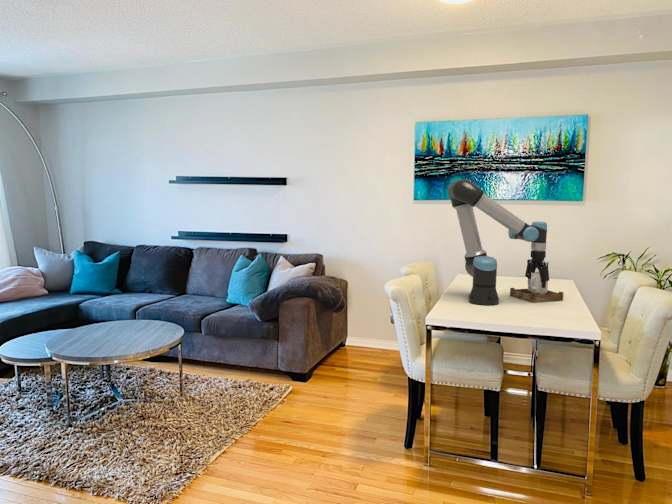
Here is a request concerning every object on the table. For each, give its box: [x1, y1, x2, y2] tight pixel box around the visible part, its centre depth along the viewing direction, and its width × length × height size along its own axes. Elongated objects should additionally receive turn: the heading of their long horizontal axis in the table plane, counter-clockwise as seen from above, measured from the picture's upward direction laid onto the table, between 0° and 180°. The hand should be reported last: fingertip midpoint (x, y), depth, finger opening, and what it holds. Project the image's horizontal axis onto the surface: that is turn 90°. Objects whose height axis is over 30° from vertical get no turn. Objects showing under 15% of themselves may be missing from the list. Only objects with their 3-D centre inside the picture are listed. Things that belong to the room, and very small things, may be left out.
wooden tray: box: [509, 287, 564, 304], centre depth 280 cm, size 19×19×4 cm
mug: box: [530, 271, 549, 294], centre depth 279 cm, size 9×12×11 cm
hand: (536, 291), depth 280 cm, fingers closed on mug, 8 cm apart
